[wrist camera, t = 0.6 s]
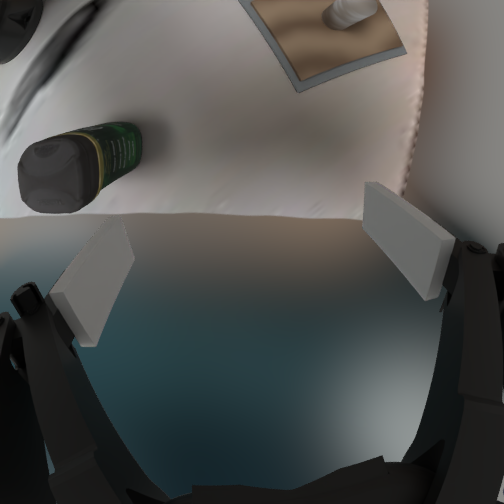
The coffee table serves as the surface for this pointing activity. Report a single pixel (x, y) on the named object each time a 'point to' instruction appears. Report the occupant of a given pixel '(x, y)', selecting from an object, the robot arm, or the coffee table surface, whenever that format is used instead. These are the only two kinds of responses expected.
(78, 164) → the coffee jar
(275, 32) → the walnut lid
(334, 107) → the coffee table surface
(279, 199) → the coffee table surface
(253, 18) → the rubber mat
